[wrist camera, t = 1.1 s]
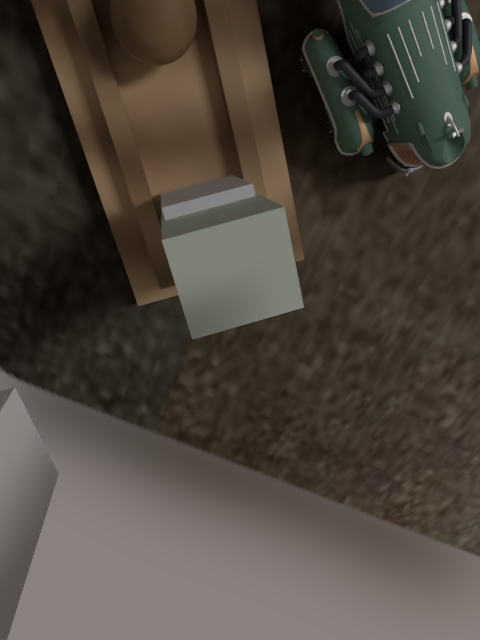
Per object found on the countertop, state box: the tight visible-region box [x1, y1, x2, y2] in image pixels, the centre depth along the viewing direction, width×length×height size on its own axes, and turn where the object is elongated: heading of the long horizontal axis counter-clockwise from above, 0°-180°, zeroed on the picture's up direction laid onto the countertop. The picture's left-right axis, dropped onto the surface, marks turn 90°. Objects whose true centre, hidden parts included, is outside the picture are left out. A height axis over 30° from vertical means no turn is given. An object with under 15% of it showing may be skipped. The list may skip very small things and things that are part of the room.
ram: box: [161, 175, 304, 339], centre depth 24 cm, size 5×5×12 cm
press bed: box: [31, 0, 304, 306], centre depth 25 cm, size 20×12×7 cm, turn 14°
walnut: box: [110, 0, 197, 66], centre depth 23 cm, size 4×4×4 cm
